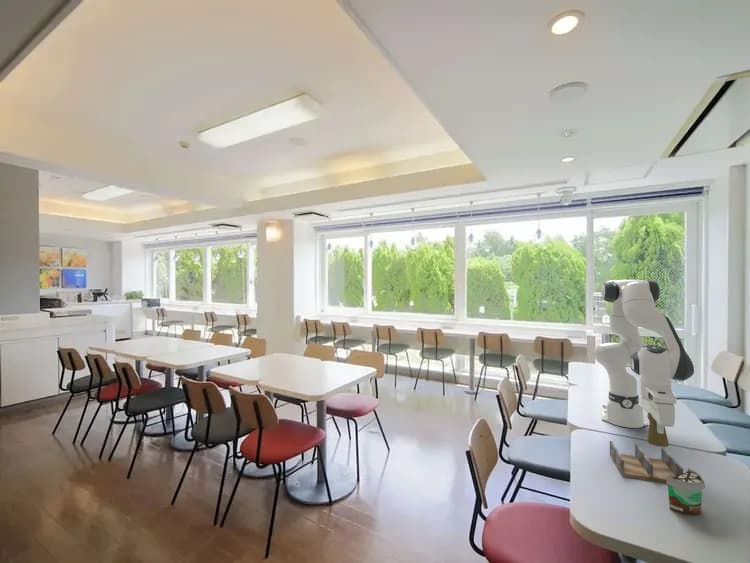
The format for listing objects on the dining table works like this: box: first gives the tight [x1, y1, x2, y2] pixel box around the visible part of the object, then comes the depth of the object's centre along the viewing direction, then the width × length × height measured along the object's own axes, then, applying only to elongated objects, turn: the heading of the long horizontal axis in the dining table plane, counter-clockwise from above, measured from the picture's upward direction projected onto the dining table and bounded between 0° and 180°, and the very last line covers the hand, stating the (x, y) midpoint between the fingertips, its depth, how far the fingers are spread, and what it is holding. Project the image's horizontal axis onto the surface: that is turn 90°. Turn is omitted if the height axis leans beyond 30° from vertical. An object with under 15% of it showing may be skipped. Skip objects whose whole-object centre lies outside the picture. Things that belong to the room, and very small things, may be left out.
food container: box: [665, 467, 706, 517], centre depth 103 cm, size 12×6×10 cm, turn 114°
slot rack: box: [609, 440, 684, 484], centre depth 126 cm, size 16×17×6 cm
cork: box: [646, 412, 670, 448], centre depth 124 cm, size 6×6×11 cm
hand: (656, 429), depth 125 cm, fingers closed on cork, 4 cm apart
